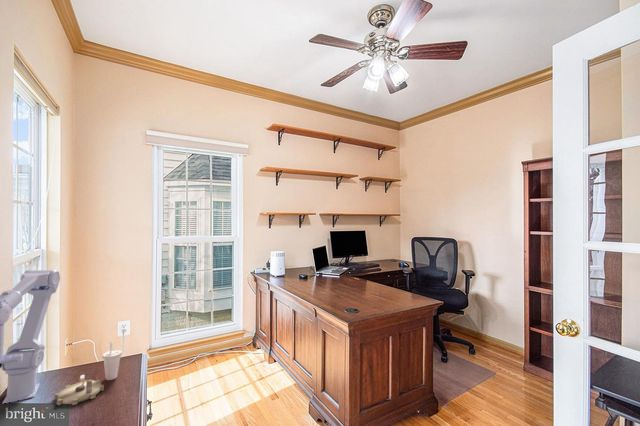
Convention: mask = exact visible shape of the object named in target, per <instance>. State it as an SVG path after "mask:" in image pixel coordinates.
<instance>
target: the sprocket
mask: <svg viewBox="0 0 640 426" xmlns="http://www.w3.org/2000/svg"><path fill="white" fill-rule="evenodd" d="M104 389H105V385H104V384H102V380H101V379H96V380H93V379H84V380H83V381H82V382H80V381H79V382H76V383H73V384H67V385H65V386H64V388H63V389H62V390H60V391H59V392H55V394H54V400H56V405H58V406H61V405H72V406H75V405H77V404H78V403H81V402H84V401H85V402H86V401H88V400H89V399H91V400H93V399H94V398H96V395H97V394H99V393H100V392H101V391H104Z"/></svg>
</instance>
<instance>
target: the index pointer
mask: <svg viewBox="0 0 640 426" xmlns="http://www.w3.org/2000/svg"><path fill="white" fill-rule="evenodd" d="M85 376H86V375H85V374H82V375H80V376H79V377H80V378H79V382H82V381H83V380H86V379H85V378H86V377H85Z"/></svg>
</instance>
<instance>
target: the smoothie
mask: <svg viewBox="0 0 640 426" xmlns="http://www.w3.org/2000/svg"><path fill="white" fill-rule="evenodd" d="M122 354H123V351H122V350H120V349H113V342H110V343H109V350H108V351H106V352H104V353H103V354H102V359H103V367H104V375H105V381H112V380H115V379H116V378H117V377H118V373H119V367H120V361H121V356H122Z"/></svg>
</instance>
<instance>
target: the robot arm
mask: <svg viewBox="0 0 640 426" xmlns="http://www.w3.org/2000/svg"><path fill="white" fill-rule="evenodd" d="M60 275H61V274H60V272H59V271H58V269H42V270H41V269H40V270H39V269H38V270H36V269H35V270H32V269H27V270H25V271H24V272H23V273H22V274H21V276H20V280H19V282H18V283H17V284H16V285H15V286H14V287H13V288H12V289H11V290H10V289H9V290H4V291H3V292H1V294H0V369H1V370H2V371H4V372H5V373H4V374H5V375H7V390H6V391H7V393H6V396H5V398H4V400H3V401H2V405H5V404H4V403H6V404H9V402H10V403H15V402H18V400H19V401H23V400H27V399H30V398H31V399H32V398H34V397H35V396H36V394H37V392H38V389H39V387H40V383H37V374H38V373H37V371H38V369H37V368H39V367H40V365H42V363H43V361H44V357H45V349H46V348H45V347H46V346H45V345H44V344H43V343H42V342H40V341H39V337H40V333H41V331H42V327H43V325H44V320H45V317H46V314H47V311H48V307H49V303H50V301H51V297H52V295H53V294H55V293H57V290H58V287H59V284H60V281H61V276H60ZM26 294H29V295H32V296H33V297H32V300H31V304H30V306H29V310H28V312H27V315H26V319H25V322H24V325H23V328H22V330H21V334H20V336H19V338H18V341H17V342H15V343H13V344H12V345H10V346H9V347H8V348H7V350H6V352H5V354H4V340H5V336H4V335H5V324H6V323H7V322H8V320H9V319H10V316H11V314H12V313H13V310H14V309H15V308H16V307H18V305H19V304H21V303H22V301H23V297H24V295H26Z"/></svg>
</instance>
